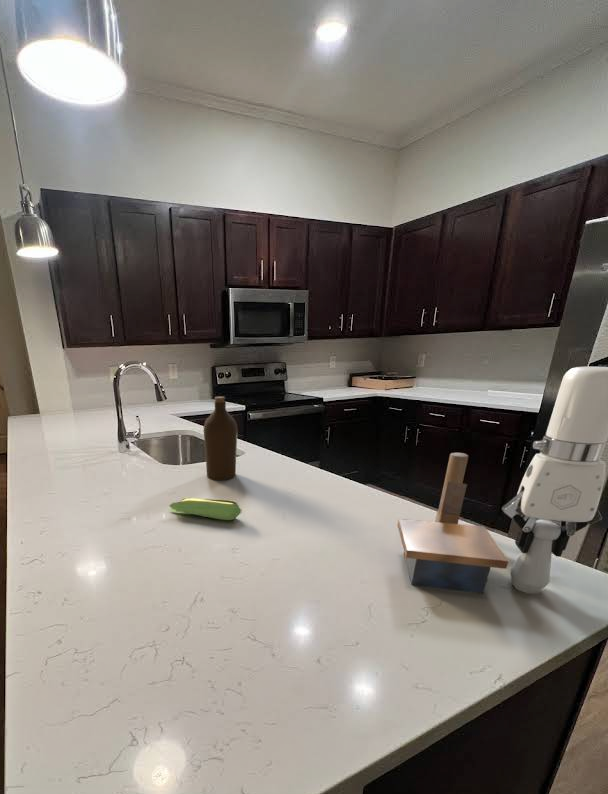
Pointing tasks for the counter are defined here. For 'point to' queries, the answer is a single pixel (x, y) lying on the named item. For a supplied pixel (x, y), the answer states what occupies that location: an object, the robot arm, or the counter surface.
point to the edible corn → (207, 508)
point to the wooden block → (453, 490)
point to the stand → (449, 554)
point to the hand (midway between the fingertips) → (538, 550)
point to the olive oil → (220, 442)
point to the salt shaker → (536, 559)
